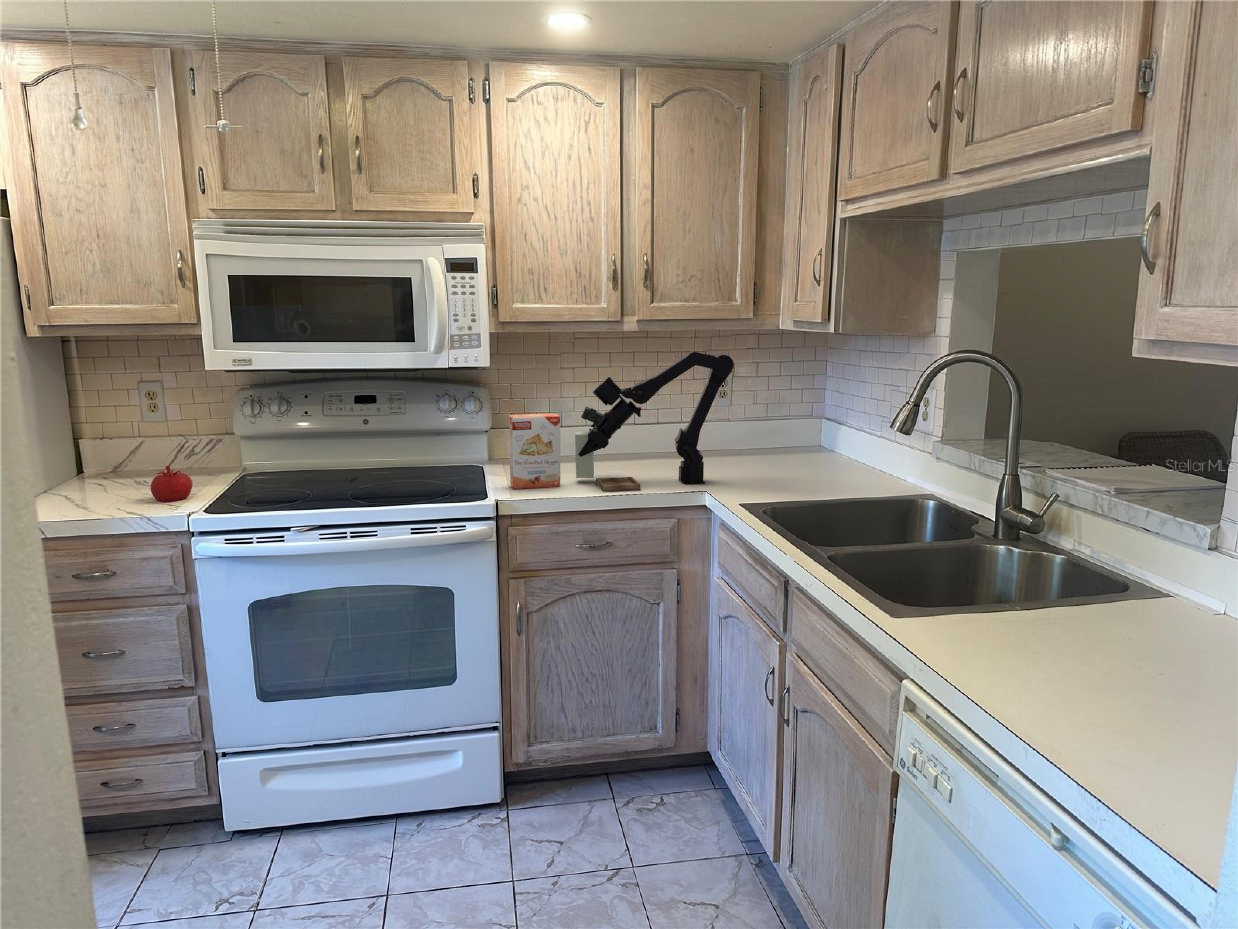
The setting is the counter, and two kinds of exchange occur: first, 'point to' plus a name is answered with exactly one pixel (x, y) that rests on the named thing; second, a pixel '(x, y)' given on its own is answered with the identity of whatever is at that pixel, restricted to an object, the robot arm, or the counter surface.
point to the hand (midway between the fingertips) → (579, 454)
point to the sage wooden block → (583, 457)
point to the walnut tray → (617, 484)
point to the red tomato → (171, 486)
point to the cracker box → (534, 450)
